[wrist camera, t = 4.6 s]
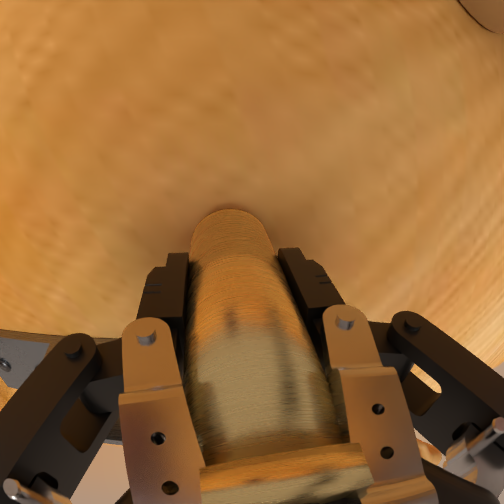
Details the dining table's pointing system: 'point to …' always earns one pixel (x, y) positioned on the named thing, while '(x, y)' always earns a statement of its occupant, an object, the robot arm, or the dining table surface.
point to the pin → (257, 378)
